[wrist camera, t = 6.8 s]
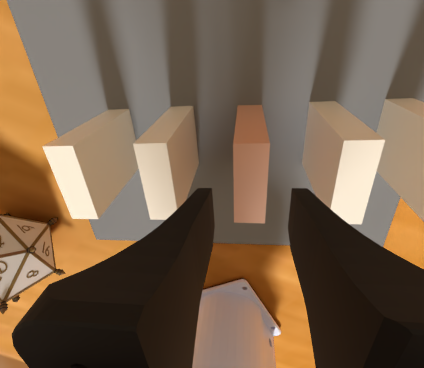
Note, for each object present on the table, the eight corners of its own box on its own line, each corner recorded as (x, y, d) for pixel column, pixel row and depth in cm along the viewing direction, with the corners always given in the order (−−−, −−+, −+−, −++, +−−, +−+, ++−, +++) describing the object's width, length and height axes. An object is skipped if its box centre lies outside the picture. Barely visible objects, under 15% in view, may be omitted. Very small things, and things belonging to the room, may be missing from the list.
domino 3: (261, 104, 17) (270, 143, 11) (259, 164, 20) (265, 223, 14) (237, 105, 18) (233, 143, 12) (237, 164, 20) (234, 222, 14)
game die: (48, 191, 28) (-51, 177, 18) (102, 244, 27) (28, 261, 17) (-10, 254, 28) (-143, 275, 18) (43, 311, 27) (-68, 367, 17)
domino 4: (335, 100, 17) (385, 139, 11) (324, 163, 19) (361, 224, 13) (309, 102, 17) (344, 140, 11) (301, 163, 19) (327, 223, 13)
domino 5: (412, 98, 16) (512, 137, 10) (393, 162, 18) (464, 226, 12) (385, 99, 16) (466, 138, 10) (368, 162, 18) (427, 225, 12)
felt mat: (511, -131, 11) (516, -133, 11) (381, 246, 22) (382, 248, 22) (-13, -59, 15) (-16, -60, 15) (97, 237, 26) (96, 239, 25)
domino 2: (193, 105, 18) (166, 143, 12) (199, 163, 20) (178, 220, 14) (170, 106, 18) (133, 143, 12) (178, 164, 20) (150, 219, 14)
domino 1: (129, 108, 18) (72, 145, 12) (141, 164, 21) (98, 219, 15) (107, 109, 19) (42, 146, 13) (122, 164, 21) (72, 218, 15)
